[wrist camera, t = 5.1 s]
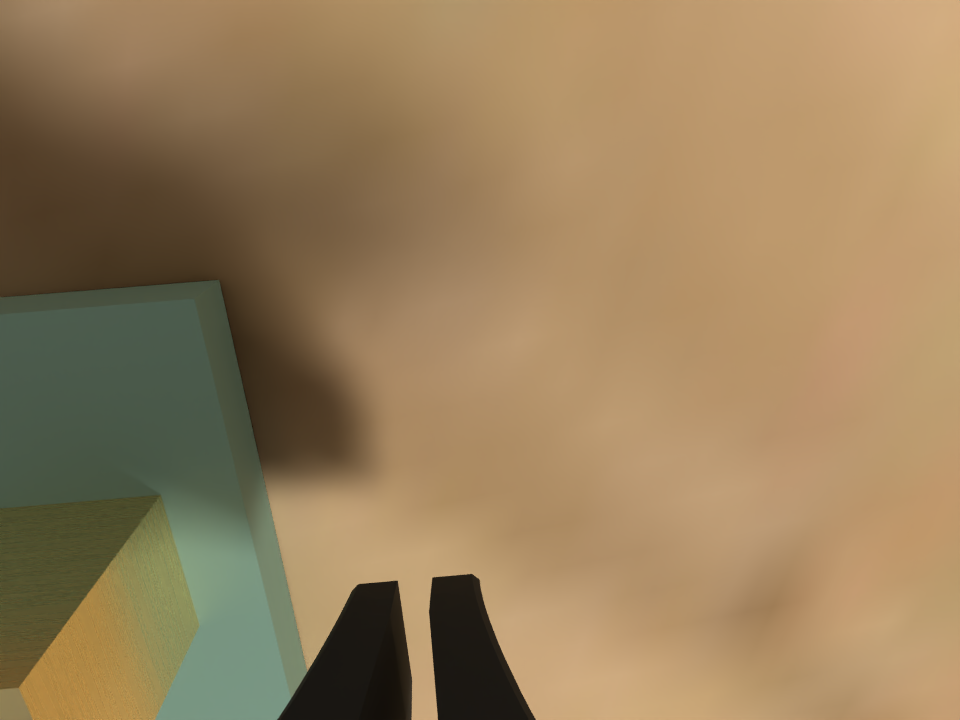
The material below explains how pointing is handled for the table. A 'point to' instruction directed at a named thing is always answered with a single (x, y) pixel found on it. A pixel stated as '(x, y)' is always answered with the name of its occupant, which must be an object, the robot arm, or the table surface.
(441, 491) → the table surface
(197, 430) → the board
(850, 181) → the table surface
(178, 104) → the table surface
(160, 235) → the table surface
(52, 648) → the tan stepped block
